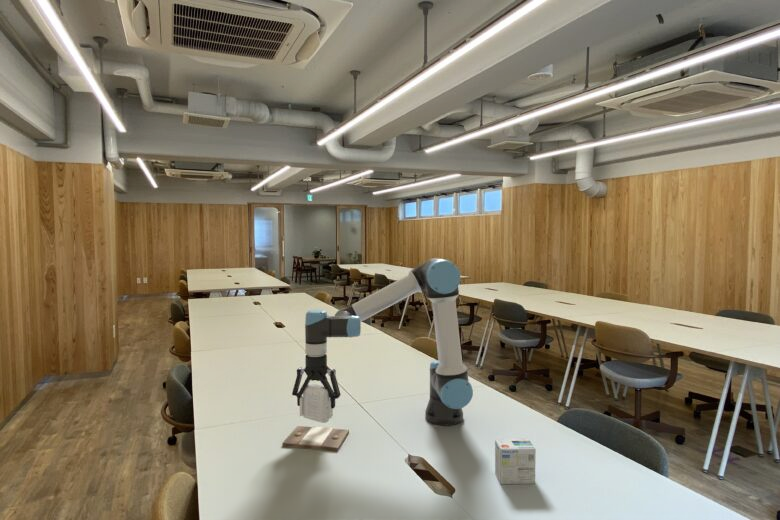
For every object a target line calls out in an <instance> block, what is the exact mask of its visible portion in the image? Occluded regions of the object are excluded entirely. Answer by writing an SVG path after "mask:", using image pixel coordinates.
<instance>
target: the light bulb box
mask: <svg viewBox="0 0 780 520" xmlns="http://www.w3.org/2000/svg"><path fill="white" fill-rule="evenodd" d="M536 450H537V449H536V447H535V446H534V444H533V443H532V442H531V440H530V439H529V438H518V439H517V438H516V439H510V438H509V439H494V453H495V454H494V472H495V473H494V474H495V476H496V478H497V480H498V482H499V484H500V485H517V484H519V485H523V484H525V485H528V484H529V485H530V484H534V485H535V484H536Z"/></svg>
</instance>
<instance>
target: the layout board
mask: <svg viewBox="0 0 780 520" xmlns="http://www.w3.org/2000/svg"><path fill="white" fill-rule="evenodd" d="M349 434H350V429H345V428H344V429H343V428H342V429H341V428H334V427H326V426H317V425H316V426H303V425H297V426H296V427H295V428H294V429H293V430H292V432H291V433H290V434H289V435H288V436H287V437H286V438H285V439H284V440H283V441H282V443H281V445H282V447H285V448H296V447H297V448H300V449H307V450H309V449H310V450H318V451H319V450H321V451H331V452H332V451H335V452H339V450H340V449H341V447H342V445H343V444H344V442H345V441H346V439H347V437H348V436H349ZM297 448H296V449H297Z"/></svg>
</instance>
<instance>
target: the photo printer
mask: <svg viewBox="0 0 780 520" xmlns="http://www.w3.org/2000/svg"><path fill="white" fill-rule="evenodd" d="M302 395H303V415H302V417H303V418H304V419H308V420H311V421H314V422H318V423H323V424H325V423H328V422H329V420H330V418H328V400H329V399H330V397H329V395H328V392H327V389H325V388H324V386H323V385H320V384H315V383H311V384H308V385H307V386H306V388H305V389H304V391H303V394H302Z"/></svg>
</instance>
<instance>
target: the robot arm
mask: <svg viewBox="0 0 780 520" xmlns="http://www.w3.org/2000/svg"><path fill="white" fill-rule="evenodd" d="M460 283H461V272H460V270H459V267H458V266H457V265H456V264H455V263H453V261H451V260H449V259H445V258H438V257H434V258H433V257H432V258H430V259H427V260H426V261H424V262H422V263H421V264H419V265H418V266H416V267H415V268H413V269H411V270H409V272H408V274H407V275H405V276H403V277H402V278H400V279H398V280H396V281H393V282H392V283H390V284H388V285H386V286H384V287H382V288H381V289H379V290H376V291H375V292H373V293H371V294H370V295H367V296H366V297H363V298H362V299H359V300H358V301H357V302H355V303H352V304H351V305H349V306H347V307H345V308H340V309H339V310H338V311H336V313H334V315H328V314H327V311H326V310H323V309H312V310H308V311H306V313H305V321H304V322H305V323H304V329H305V330H304V331H305V332H304V335H305V337H304V338H305V342H304V343H305V350H304V351H305V353H304V354H305V358H304V359H305V367H302V366H301V367H300V366H299V368H297V369H296V378H295V381H294V385H293V389H292V393H291V395H292V396H296V399H297V400H296V401H297V402H296V403H297V406H298V407H299V417H303V391H304V389H305V388H306V386H307V385H309V383H310V382H311V381H312V382H313V381H317V382H320V383H321V384H322V386H323V387H324V388H325V389H327V392H328V395H329V397H330V399H329V400H328V418H329V419H332V418H333V416H334V413H333V411H334V409H335V407H336V399H339V398H340V396H341V391H340V387H339V383H338V379H337V376H336V372H337V371H336V369H335V368H333V369H329V368H328V355H327V352H328V350H327V349H328V340H327V339H328V338H357V337H359V336H360V335H361V333H362V332H361V331H362V329H361V325H362V324H361V322H363V321H365V320H367V319H369V318H371V317H373V316H375V315H376V314H378V313H380V312H382V311H384V310H385V309H388V308H389V307H392V306H393V305H395V304H397V303H399V302H401V301H403V300H405V299H407V298H409V297H410V296H412V295H413V294H414V295H415V294H417V293H423V292H425V291H426V298H427V299H428V300H429V301H431V307H432V314H433V315H432V316H433V323H434V332H435V342H436V350H437V358H438V360H433V361H431V362H430V364H429V399H428V403H427V406H426V409H425V411H424V412H425V416H424V417H425V420H426V421H428V422H429V423H432V424H434V425H439V426H454V425H458V424H461V422H463V421H464V411H463V408H465V407H467V406H468V404H469V403H471V401H472V399H473V396H474V389H473V386H472V384H471V383H470V382H469V373H468V367H467V366H466V364H464V363H463V356H462V347H461V339H460V330H459V320H458V311H457V302H456V301H457V300H456V299H457V298H458V297H459V295H460V290H459V289H460V288H459V285H460ZM304 373H305V374H306V377H305V380H304V382H303V384H302V385H301V381H302V379H303V375H304ZM327 374H328V376H329V377H330V382H331V384H330V382H329V381H328V378H327V376H326V375H327ZM300 386H301V387H300ZM299 388H300V389H299Z"/></svg>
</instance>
